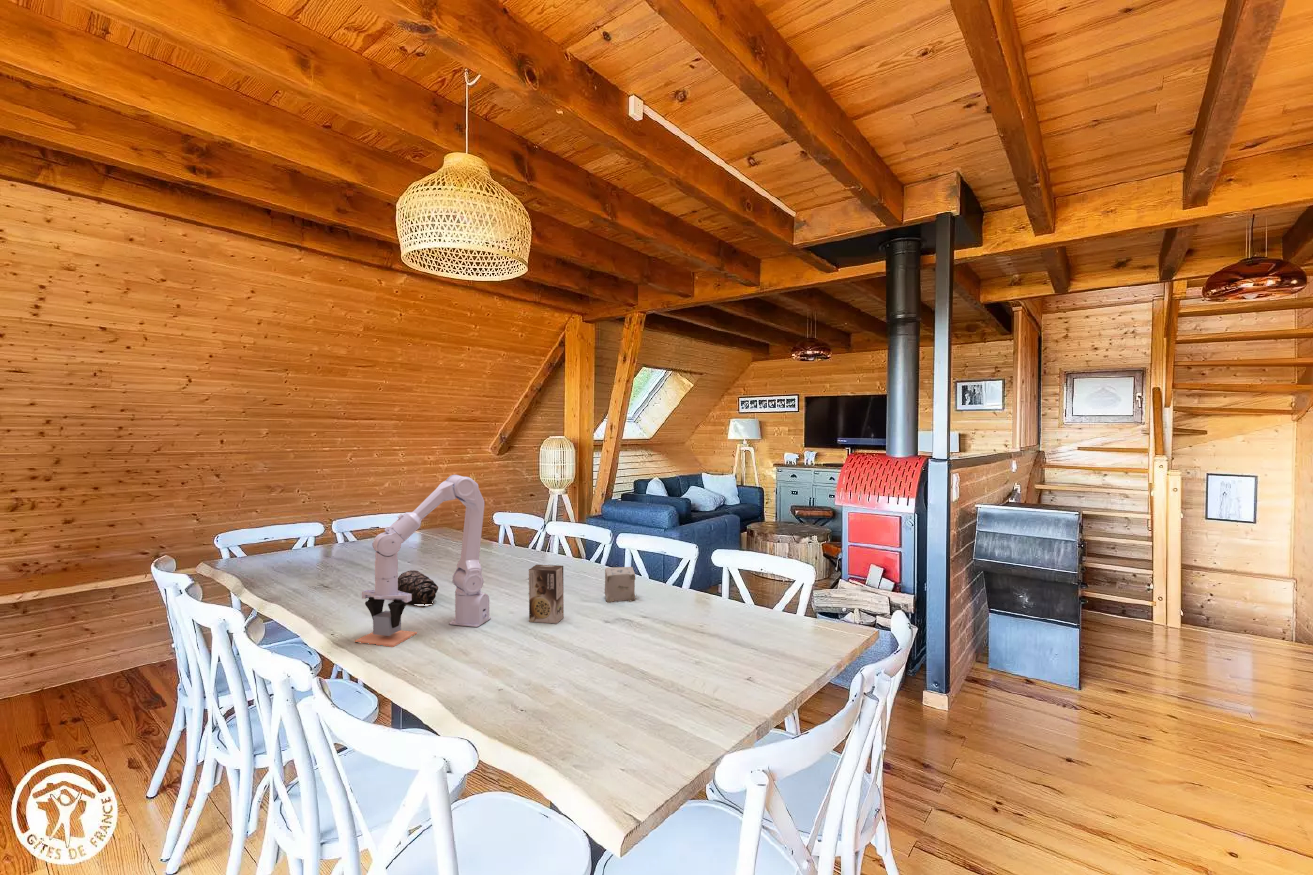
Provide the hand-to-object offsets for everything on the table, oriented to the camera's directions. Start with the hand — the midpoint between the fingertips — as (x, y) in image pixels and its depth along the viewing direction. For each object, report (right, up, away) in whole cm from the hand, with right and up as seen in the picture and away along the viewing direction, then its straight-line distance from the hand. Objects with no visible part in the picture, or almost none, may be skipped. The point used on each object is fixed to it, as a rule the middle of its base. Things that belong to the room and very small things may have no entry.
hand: (386, 625), depth 162 cm
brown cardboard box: (+62, -4, +38) cm, 73 cm away
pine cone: (-5, -3, +34) cm, 35 cm away
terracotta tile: (0, -4, 0) cm, 3 cm away
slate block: (0, -2, 0) cm, 2 cm away
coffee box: (+41, -4, +17) cm, 44 cm away
